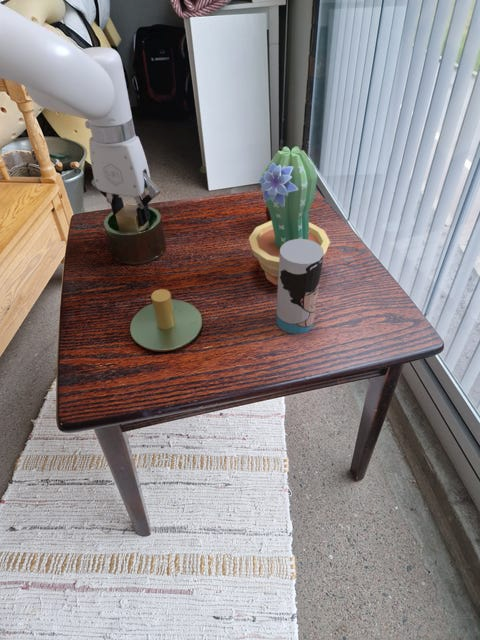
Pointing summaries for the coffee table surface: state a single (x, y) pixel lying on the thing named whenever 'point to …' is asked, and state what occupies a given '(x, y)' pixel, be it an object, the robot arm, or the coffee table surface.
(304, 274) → the white printed cylinder
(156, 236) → the bowl
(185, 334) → the lid
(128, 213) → the block
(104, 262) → the coffee table surface
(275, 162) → the potted cactus
